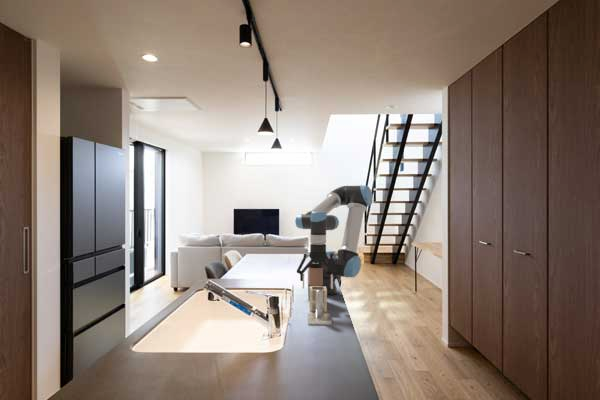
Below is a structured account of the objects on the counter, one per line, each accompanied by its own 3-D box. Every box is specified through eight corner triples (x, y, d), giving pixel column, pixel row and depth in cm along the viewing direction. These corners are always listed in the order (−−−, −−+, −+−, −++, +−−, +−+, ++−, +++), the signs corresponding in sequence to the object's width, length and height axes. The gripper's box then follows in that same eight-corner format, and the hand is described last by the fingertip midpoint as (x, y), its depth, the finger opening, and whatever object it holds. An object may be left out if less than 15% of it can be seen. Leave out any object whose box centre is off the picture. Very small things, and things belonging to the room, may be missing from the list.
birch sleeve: (309, 306, 179) (309, 286, 179) (325, 306, 179) (325, 286, 179) (309, 311, 171) (309, 290, 171) (326, 311, 171) (326, 290, 171)
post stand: (307, 316, 163) (307, 287, 163) (329, 317, 163) (330, 287, 163) (307, 324, 153) (307, 293, 153) (331, 324, 153) (331, 293, 153)
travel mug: (323, 299, 193) (323, 261, 193) (322, 303, 185) (322, 263, 185) (308, 298, 194) (308, 260, 194) (307, 302, 186) (307, 263, 186)
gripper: (291, 244, 172) (291, 289, 171) (345, 244, 171) (344, 290, 171) (292, 242, 179) (291, 285, 179) (343, 243, 179) (342, 286, 179)
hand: (317, 288), depth 175 cm, fingers open, 13 cm apart
